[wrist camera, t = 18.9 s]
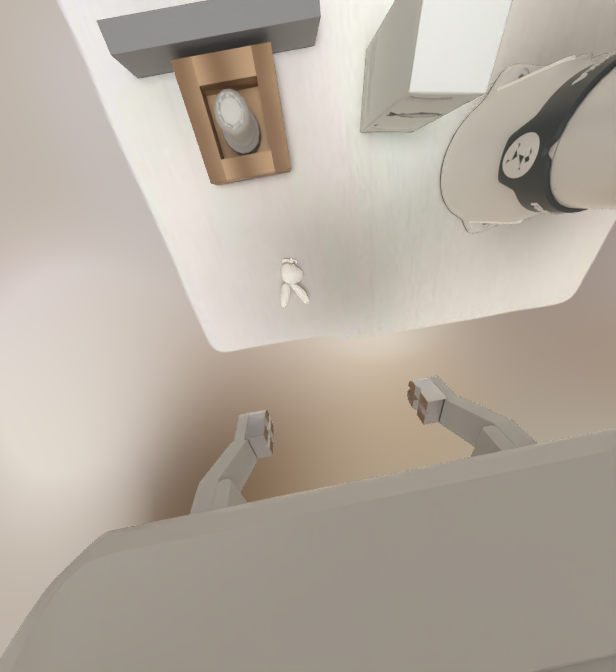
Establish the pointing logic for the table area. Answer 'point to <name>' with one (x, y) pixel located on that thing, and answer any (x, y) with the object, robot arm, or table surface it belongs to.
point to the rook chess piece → (237, 122)
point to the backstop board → (207, 31)
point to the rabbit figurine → (291, 282)
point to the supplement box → (429, 60)
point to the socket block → (263, 101)
